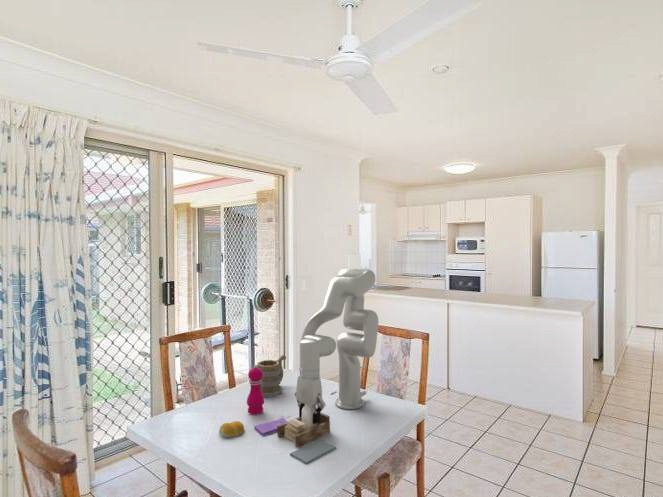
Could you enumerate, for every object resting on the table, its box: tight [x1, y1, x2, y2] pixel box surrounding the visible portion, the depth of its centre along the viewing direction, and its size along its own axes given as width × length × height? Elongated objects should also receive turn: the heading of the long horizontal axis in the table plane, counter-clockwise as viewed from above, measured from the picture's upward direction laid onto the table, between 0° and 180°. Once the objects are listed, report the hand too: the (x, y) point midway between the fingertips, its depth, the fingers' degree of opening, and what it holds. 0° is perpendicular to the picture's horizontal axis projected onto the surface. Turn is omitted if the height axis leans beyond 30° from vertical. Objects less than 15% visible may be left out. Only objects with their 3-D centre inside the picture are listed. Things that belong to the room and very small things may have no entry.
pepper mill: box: [246, 364, 265, 416], centre depth 168 cm, size 7×7×20 cm
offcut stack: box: [284, 418, 306, 443], centre depth 145 cm, size 5×8×6 cm, turn 46°
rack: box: [276, 411, 331, 448], centre depth 148 cm, size 16×11×6 cm
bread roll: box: [218, 420, 245, 439], centre depth 149 cm, size 8×9×4 cm
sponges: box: [253, 417, 288, 437], centre depth 153 cm, size 7×13×2 cm, turn 125°
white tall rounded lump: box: [302, 404, 317, 430], centre depth 150 cm, size 6×12×6 cm
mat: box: [289, 438, 337, 465], centre depth 136 cm, size 14×8×1 cm, turn 136°
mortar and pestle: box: [256, 354, 287, 398], centre depth 193 cm, size 20×13×15 cm, turn 147°
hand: (309, 419), depth 150 cm, fingers open, 6 cm apart
